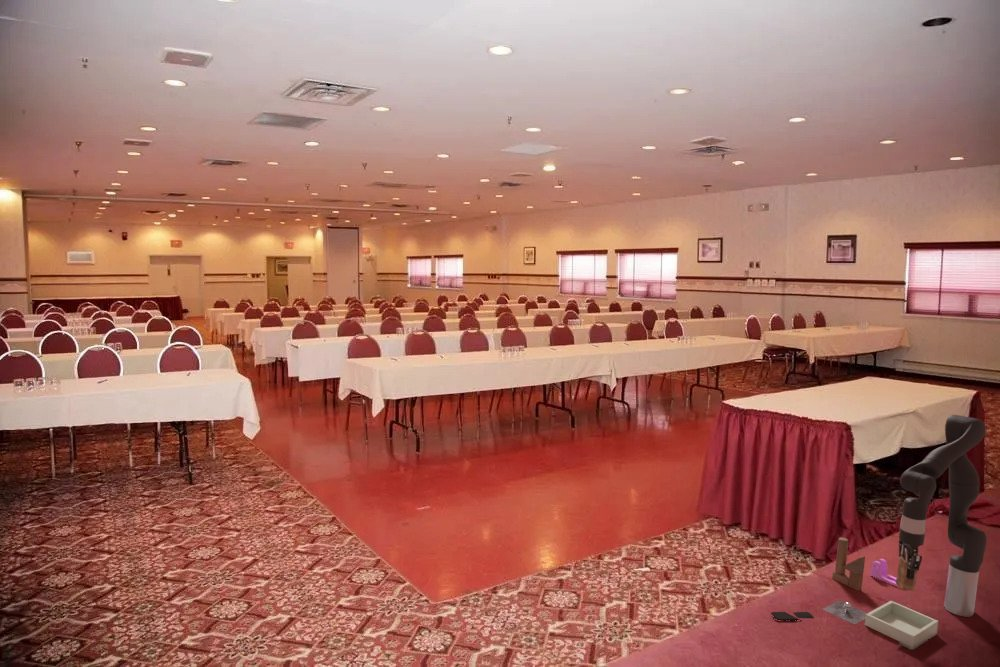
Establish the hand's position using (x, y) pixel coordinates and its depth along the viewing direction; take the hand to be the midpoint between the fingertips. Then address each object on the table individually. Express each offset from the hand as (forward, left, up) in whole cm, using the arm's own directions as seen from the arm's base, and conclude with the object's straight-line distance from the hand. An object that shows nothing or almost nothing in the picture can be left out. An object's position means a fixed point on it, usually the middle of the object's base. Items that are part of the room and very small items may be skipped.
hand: (907, 575), depth 238 cm
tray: (0, 0, -21) cm, 21 cm away
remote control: (+25, -25, -21) cm, 42 cm away
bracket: (-35, -20, -21) cm, 46 cm away
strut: (0, 0, -4) cm, 4 cm away
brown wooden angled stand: (-16, -28, -21) cm, 38 cm away
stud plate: (+6, -16, -21) cm, 27 cm away
